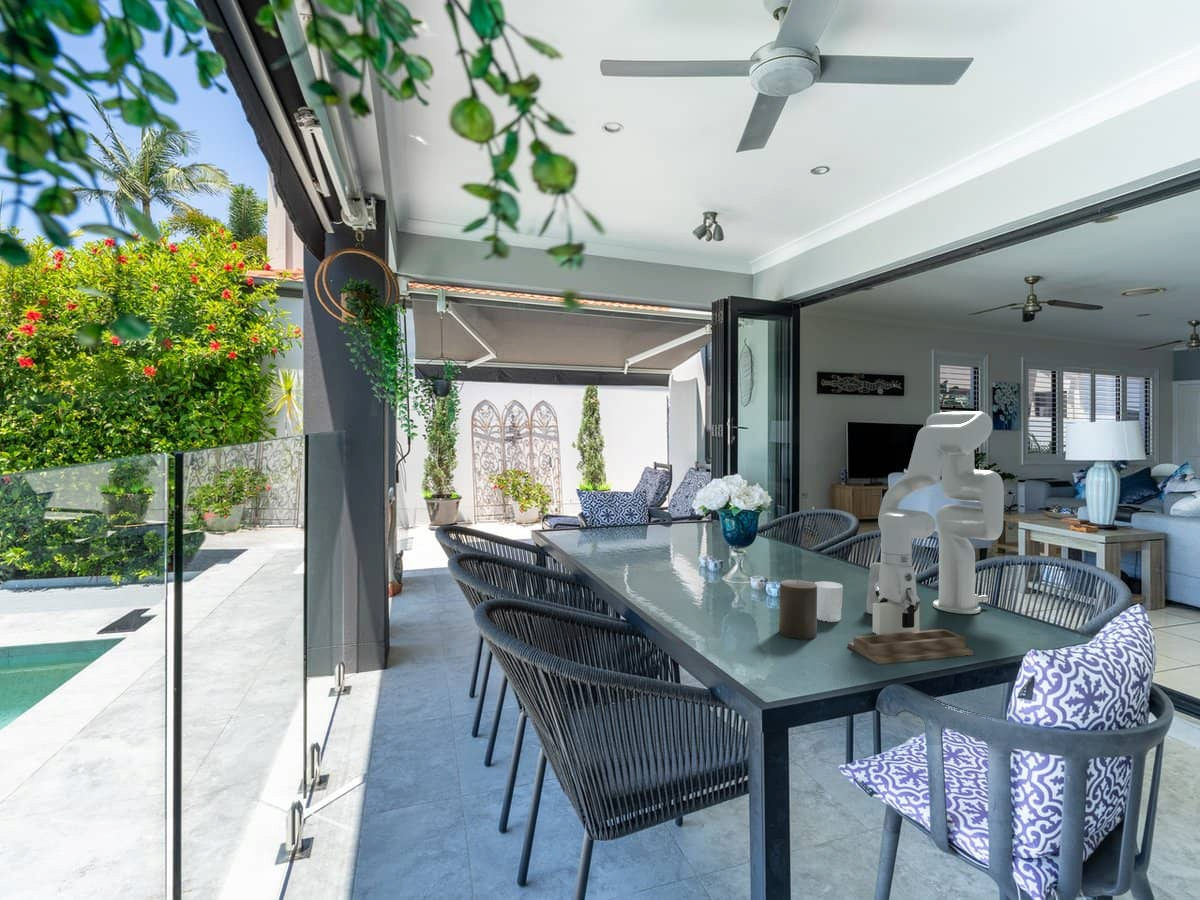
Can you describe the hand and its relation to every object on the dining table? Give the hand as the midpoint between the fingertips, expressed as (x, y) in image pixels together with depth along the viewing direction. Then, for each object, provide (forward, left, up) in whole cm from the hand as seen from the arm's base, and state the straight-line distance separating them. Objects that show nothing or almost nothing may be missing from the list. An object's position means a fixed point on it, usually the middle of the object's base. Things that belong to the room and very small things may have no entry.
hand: (895, 621), depth 168 cm
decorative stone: (-8, -15, -3) cm, 17 cm away
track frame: (+6, +13, -3) cm, 15 cm away
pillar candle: (+26, -5, -3) cm, 27 cm away
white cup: (+11, -15, -3) cm, 19 cm away
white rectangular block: (0, 0, -3) cm, 3 cm away
